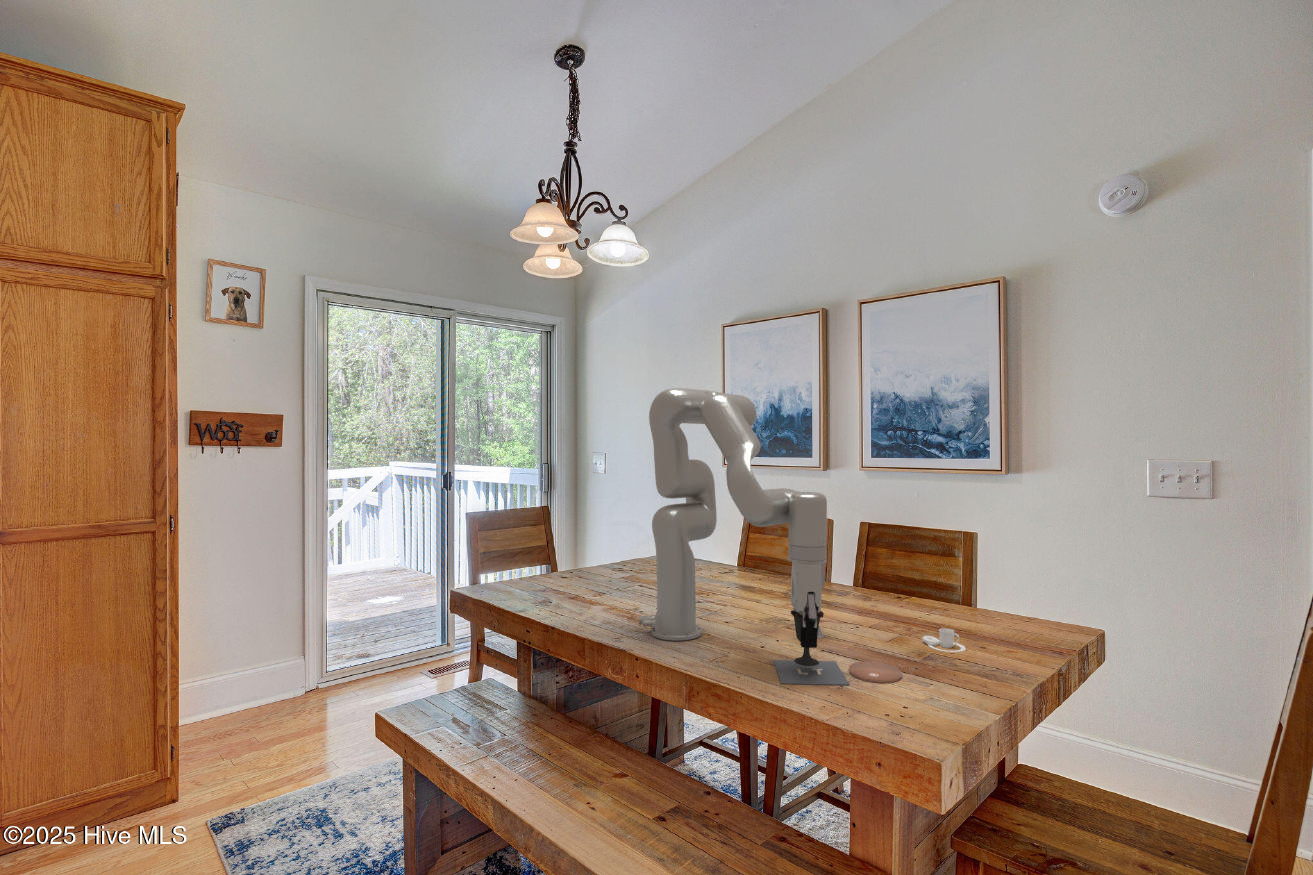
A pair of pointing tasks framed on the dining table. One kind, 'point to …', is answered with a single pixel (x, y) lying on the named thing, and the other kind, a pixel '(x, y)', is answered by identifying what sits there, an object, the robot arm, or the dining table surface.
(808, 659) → the sundae
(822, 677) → the card
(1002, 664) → the dining table surface
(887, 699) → the dining table surface
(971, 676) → the dining table surface
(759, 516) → the robot arm
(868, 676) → the coaster
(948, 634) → the teacup and saucer
